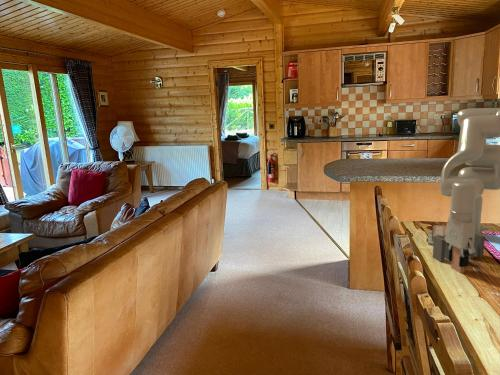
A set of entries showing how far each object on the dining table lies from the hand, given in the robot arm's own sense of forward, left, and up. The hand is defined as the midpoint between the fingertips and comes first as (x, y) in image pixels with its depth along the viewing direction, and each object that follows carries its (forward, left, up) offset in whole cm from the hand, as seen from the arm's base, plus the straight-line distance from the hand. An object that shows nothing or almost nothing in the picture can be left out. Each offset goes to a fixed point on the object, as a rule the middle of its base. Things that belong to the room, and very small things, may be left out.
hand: (458, 262), depth 140 cm
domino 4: (-12, -11, -3) cm, 16 cm away
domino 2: (-4, -11, -3) cm, 12 cm away
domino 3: (0, 0, -3) cm, 3 cm away
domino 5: (-16, -11, -3) cm, 20 cm away
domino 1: (0, -11, -3) cm, 11 cm away
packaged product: (-15, -31, -4) cm, 34 cm away
